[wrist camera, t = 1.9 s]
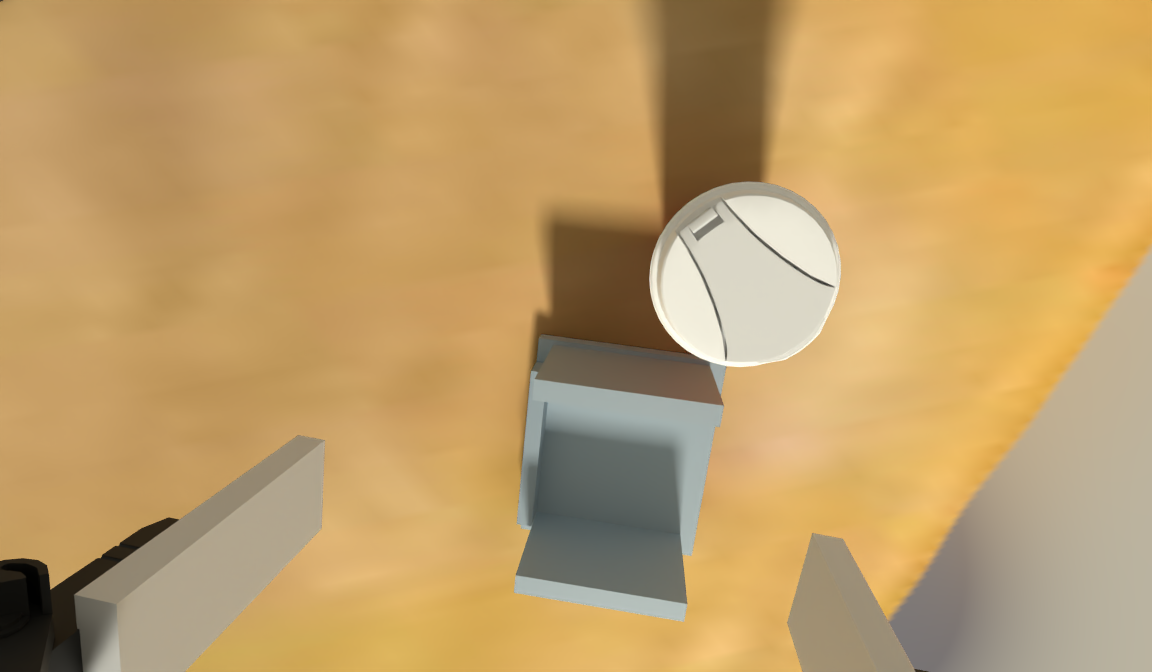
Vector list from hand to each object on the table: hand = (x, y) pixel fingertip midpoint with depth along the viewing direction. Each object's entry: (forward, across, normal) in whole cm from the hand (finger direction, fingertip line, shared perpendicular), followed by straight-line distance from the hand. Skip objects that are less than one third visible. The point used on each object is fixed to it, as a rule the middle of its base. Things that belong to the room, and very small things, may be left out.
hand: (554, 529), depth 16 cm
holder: (+24, +2, -8) cm, 25 cm away
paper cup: (+24, +5, +6) cm, 25 cm away
